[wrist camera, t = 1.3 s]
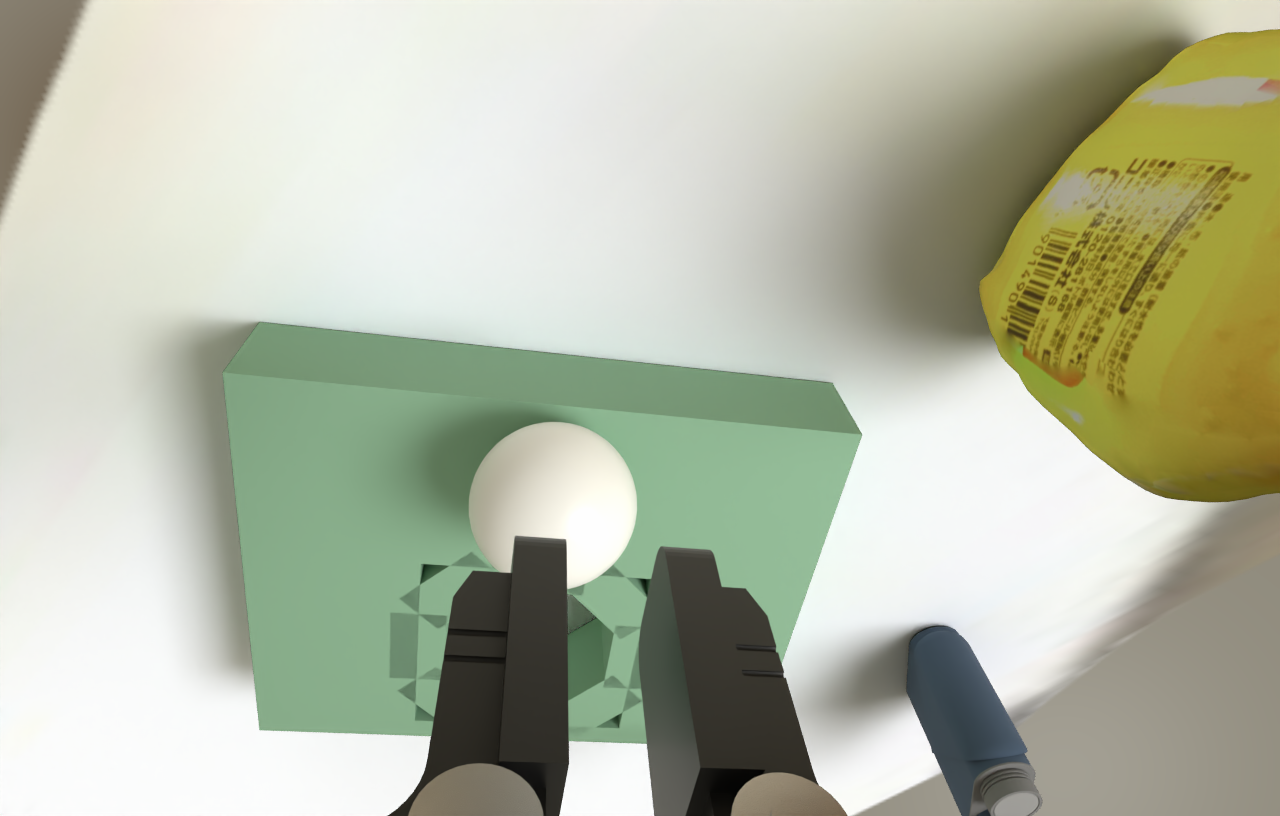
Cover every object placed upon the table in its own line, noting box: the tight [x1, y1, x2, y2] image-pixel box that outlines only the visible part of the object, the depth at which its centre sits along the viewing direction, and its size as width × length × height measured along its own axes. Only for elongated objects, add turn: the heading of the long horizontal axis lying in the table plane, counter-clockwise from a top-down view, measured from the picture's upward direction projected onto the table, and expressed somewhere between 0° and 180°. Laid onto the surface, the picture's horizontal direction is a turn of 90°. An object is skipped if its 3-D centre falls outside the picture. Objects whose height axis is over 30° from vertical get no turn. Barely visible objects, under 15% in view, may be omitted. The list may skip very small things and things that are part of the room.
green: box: [223, 322, 862, 744], centre depth 26 cm, size 16×20×16 cm
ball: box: [469, 422, 637, 589], centre depth 25 cm, size 5×5×5 cm
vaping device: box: [907, 626, 1042, 816], centre depth 34 cm, size 3×5×12 cm, turn 7°
